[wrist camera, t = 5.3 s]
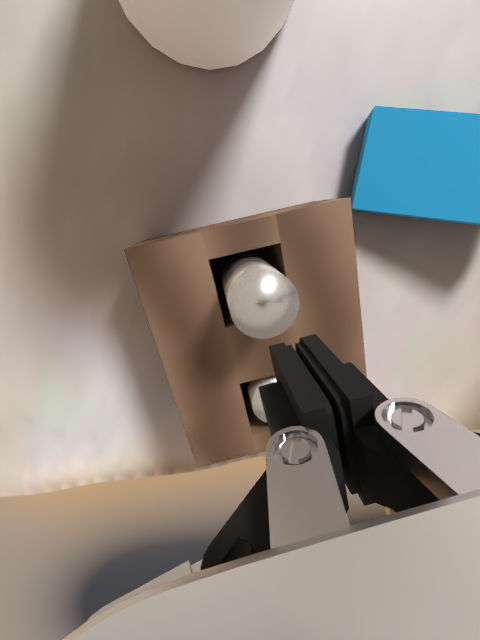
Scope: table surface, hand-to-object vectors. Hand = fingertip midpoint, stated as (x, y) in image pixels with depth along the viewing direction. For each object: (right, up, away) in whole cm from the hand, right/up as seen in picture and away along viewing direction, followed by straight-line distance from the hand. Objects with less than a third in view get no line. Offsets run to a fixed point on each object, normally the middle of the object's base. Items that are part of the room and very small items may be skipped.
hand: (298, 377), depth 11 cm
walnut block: (-1, +2, +17) cm, 17 cm away
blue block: (+16, +14, +16) cm, 27 cm away
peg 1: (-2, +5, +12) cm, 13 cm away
